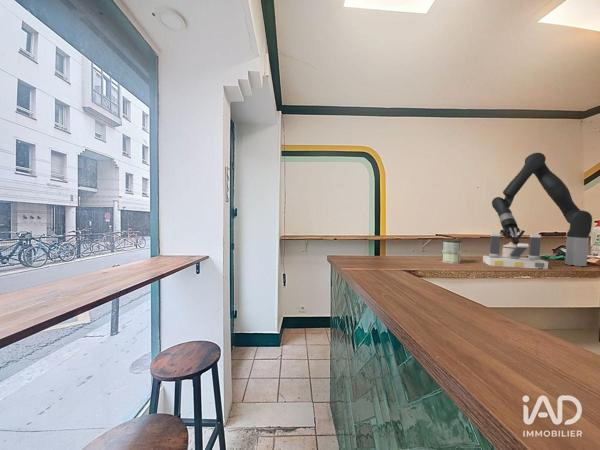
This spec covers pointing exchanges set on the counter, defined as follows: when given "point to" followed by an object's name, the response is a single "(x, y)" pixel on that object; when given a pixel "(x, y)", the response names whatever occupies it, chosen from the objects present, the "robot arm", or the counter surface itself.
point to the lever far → (494, 245)
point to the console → (515, 262)
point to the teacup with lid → (508, 249)
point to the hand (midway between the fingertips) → (516, 243)
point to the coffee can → (451, 251)
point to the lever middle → (518, 250)
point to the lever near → (534, 247)
